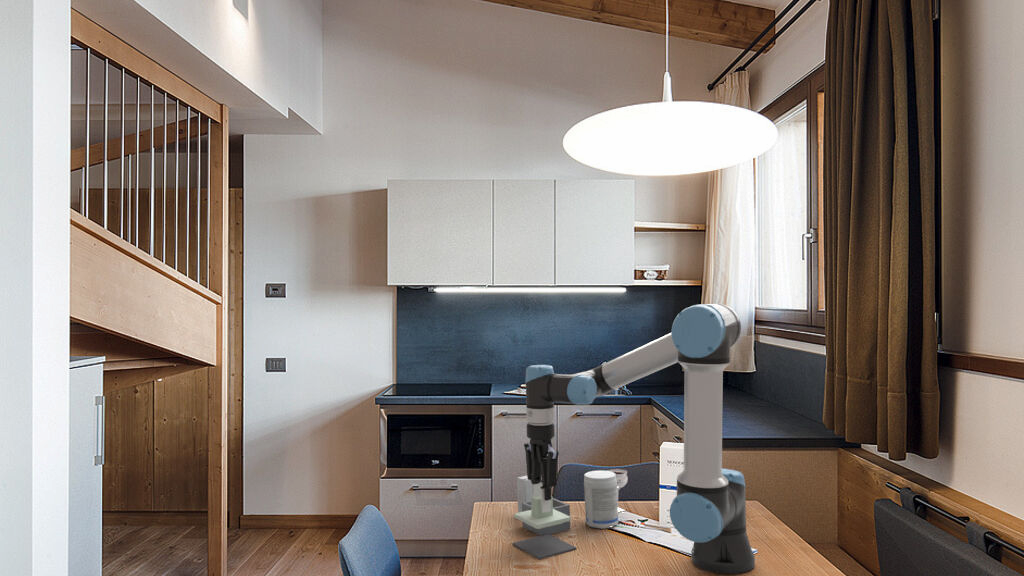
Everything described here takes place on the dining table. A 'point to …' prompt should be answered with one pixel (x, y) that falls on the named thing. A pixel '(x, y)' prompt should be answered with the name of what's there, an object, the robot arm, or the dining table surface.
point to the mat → (544, 546)
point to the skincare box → (524, 491)
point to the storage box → (564, 526)
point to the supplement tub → (601, 499)
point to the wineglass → (620, 481)
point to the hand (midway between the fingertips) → (542, 509)
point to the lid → (541, 515)
